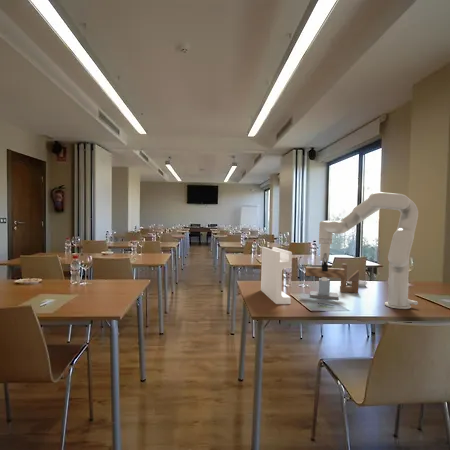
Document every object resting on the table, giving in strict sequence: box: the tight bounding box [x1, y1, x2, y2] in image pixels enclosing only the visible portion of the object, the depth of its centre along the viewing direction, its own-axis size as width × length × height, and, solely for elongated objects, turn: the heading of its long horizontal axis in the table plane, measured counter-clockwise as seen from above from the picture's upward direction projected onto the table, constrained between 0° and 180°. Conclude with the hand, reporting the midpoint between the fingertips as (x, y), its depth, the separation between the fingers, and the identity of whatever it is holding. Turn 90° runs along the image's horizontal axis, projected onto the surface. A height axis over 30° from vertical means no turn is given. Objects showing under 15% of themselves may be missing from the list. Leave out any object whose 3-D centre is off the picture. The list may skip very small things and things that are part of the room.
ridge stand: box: [309, 277, 340, 301], centre depth 205 cm, size 16×12×12 cm
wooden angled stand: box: [339, 263, 360, 294], centre depth 219 cm, size 4×11×18 cm, turn 82°
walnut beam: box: [305, 266, 344, 279], centre depth 205 cm, size 22×4×5 cm, turn 75°
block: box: [260, 246, 293, 305], centre depth 201 cm, size 35×8×28 cm, turn 8°
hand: (324, 270), depth 204 cm, fingers open, 9 cm apart
